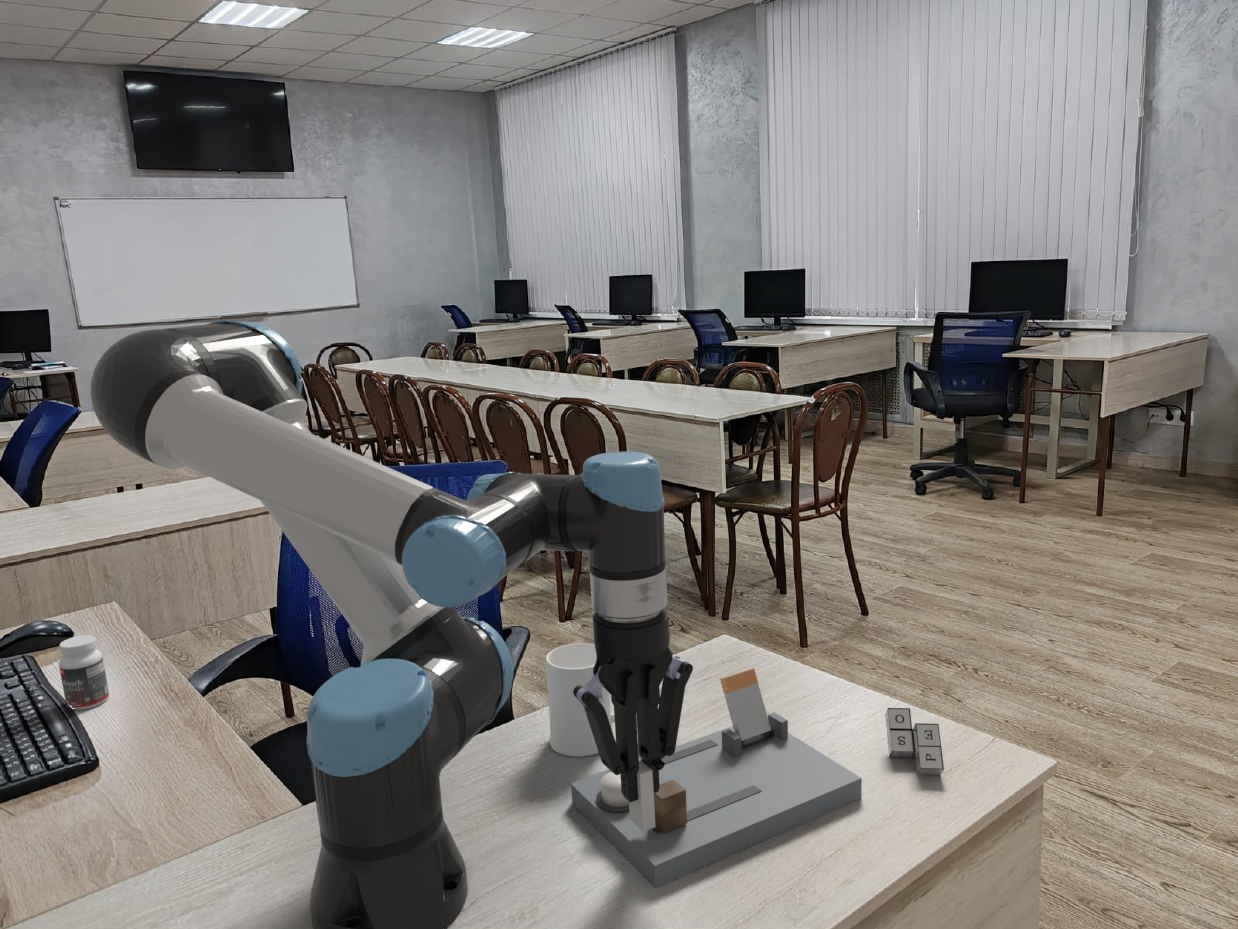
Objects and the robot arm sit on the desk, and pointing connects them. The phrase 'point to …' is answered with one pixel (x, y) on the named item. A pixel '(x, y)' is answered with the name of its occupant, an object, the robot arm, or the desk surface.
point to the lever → (746, 707)
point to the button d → (612, 790)
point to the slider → (670, 806)
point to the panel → (724, 800)
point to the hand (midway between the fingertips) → (642, 823)
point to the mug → (572, 699)
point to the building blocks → (914, 741)
